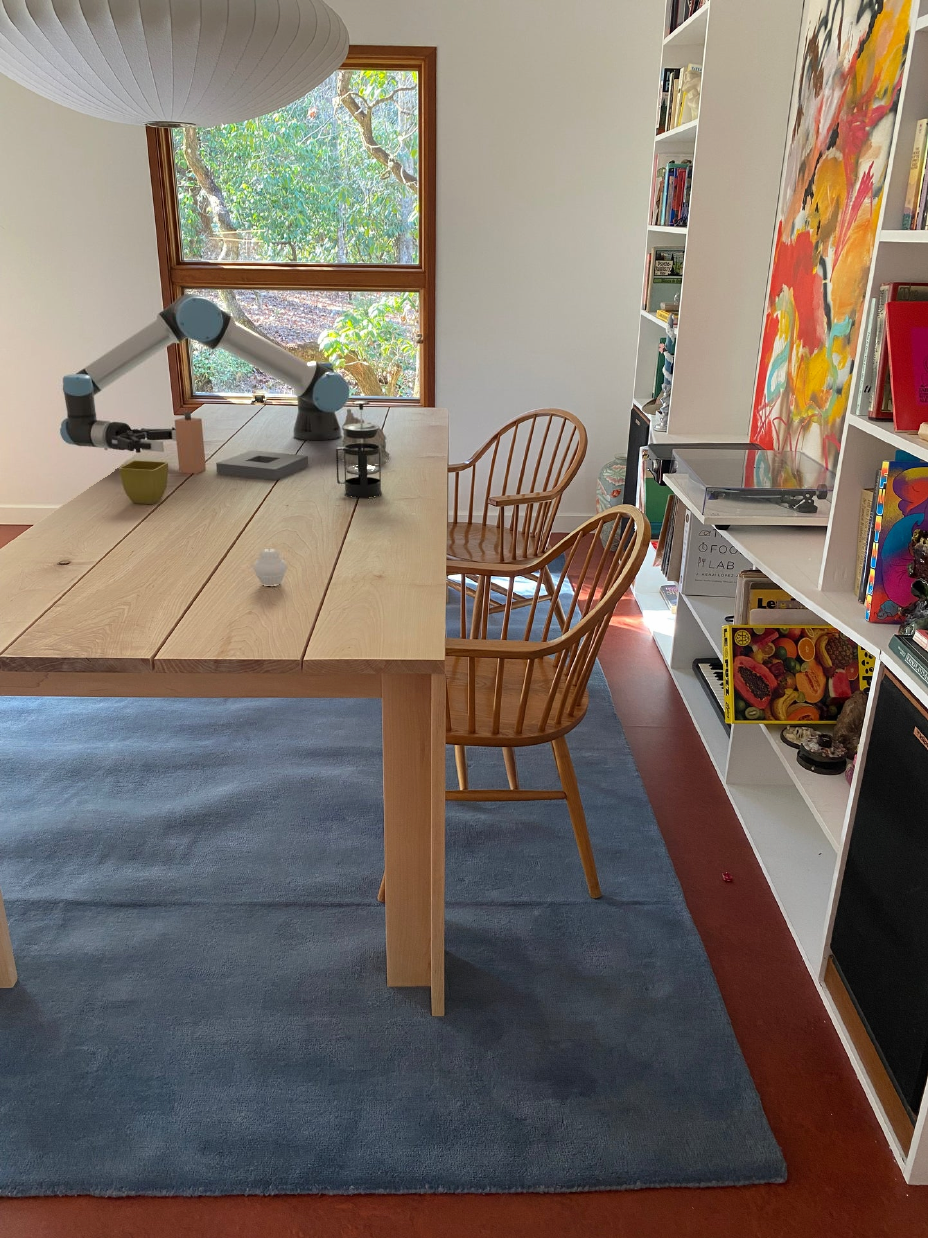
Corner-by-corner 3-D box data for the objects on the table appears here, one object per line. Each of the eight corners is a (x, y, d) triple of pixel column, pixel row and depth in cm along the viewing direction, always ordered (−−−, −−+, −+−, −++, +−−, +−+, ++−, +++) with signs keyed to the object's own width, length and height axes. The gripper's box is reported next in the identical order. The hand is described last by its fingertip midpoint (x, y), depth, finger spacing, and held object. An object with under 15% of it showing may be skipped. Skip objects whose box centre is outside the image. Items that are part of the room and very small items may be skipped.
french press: (382, 488, 242) (381, 398, 233) (386, 498, 233) (384, 404, 225) (336, 489, 240) (333, 398, 232) (338, 499, 232) (335, 404, 223)
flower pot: (172, 497, 230) (168, 461, 227) (158, 507, 222) (154, 469, 219) (137, 496, 231) (133, 460, 227) (122, 505, 223) (117, 468, 219)
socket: (252, 460, 269) (251, 450, 268) (308, 466, 264) (308, 455, 263) (217, 474, 253) (216, 462, 252) (276, 480, 248) (275, 469, 247)
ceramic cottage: (360, 467, 264) (361, 412, 259) (331, 458, 276) (331, 406, 271) (406, 464, 273) (408, 411, 268) (376, 455, 285) (377, 405, 280)
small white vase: (286, 590, 172) (284, 553, 170) (252, 590, 172) (250, 553, 169) (289, 578, 178) (287, 543, 175) (256, 578, 177) (254, 543, 175)
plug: (190, 468, 259) (184, 409, 253) (205, 469, 258) (200, 410, 252) (179, 472, 255) (173, 412, 249) (195, 473, 253) (189, 413, 247)
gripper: (142, 440, 273) (205, 446, 266) (83, 457, 251) (150, 465, 244) (140, 414, 270) (203, 420, 263) (79, 429, 248) (147, 436, 242)
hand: (178, 441), depth 254 cm, fingers open, 13 cm apart
